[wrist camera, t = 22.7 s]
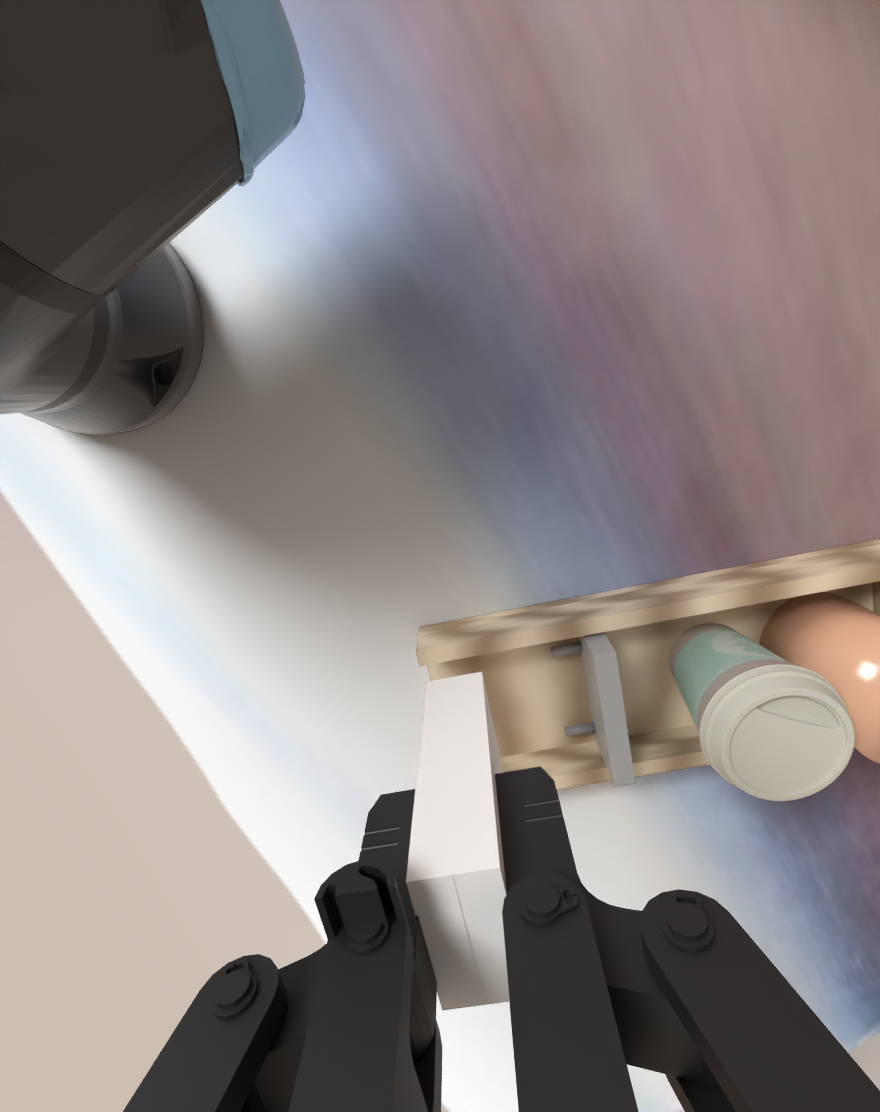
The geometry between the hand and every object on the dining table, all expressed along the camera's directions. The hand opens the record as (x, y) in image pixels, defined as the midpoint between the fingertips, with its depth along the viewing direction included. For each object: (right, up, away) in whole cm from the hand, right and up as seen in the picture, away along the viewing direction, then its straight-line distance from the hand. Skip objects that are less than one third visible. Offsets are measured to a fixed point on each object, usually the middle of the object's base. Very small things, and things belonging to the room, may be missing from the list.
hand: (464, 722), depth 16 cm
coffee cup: (+20, -3, +30) cm, 36 cm away
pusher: (+10, -6, +31) cm, 33 cm away
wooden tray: (+16, -4, +31) cm, 36 cm away
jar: (+28, -2, +29) cm, 40 cm away
